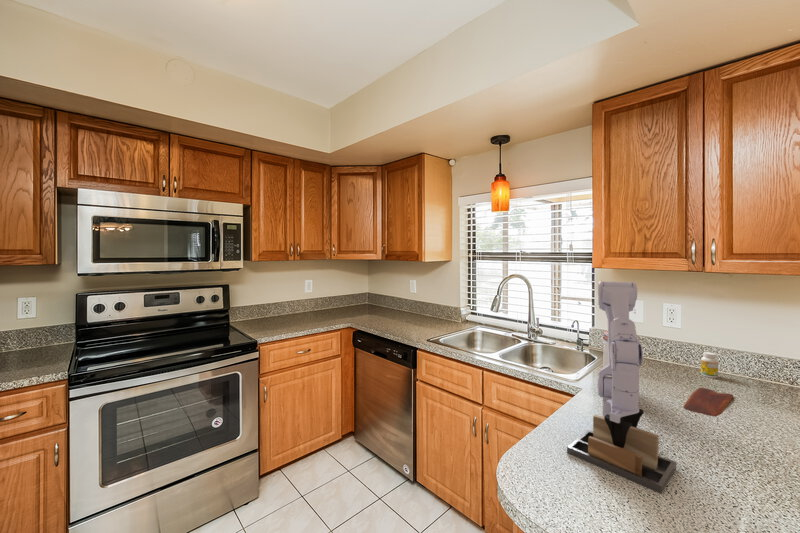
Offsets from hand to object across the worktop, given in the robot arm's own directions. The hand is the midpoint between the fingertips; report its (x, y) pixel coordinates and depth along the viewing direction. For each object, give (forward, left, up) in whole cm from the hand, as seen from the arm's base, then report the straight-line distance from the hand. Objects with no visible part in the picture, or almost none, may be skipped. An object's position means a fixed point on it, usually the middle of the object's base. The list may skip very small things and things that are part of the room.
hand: (623, 440), depth 88 cm
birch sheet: (0, 0, -4) cm, 4 cm away
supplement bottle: (-92, +4, -5) cm, 92 cm away
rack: (+3, 0, -5) cm, 5 cm away
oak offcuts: (+6, 0, -4) cm, 8 cm away
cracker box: (-47, -16, -5) cm, 50 cm away
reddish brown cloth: (-59, +8, -5) cm, 60 cm away
